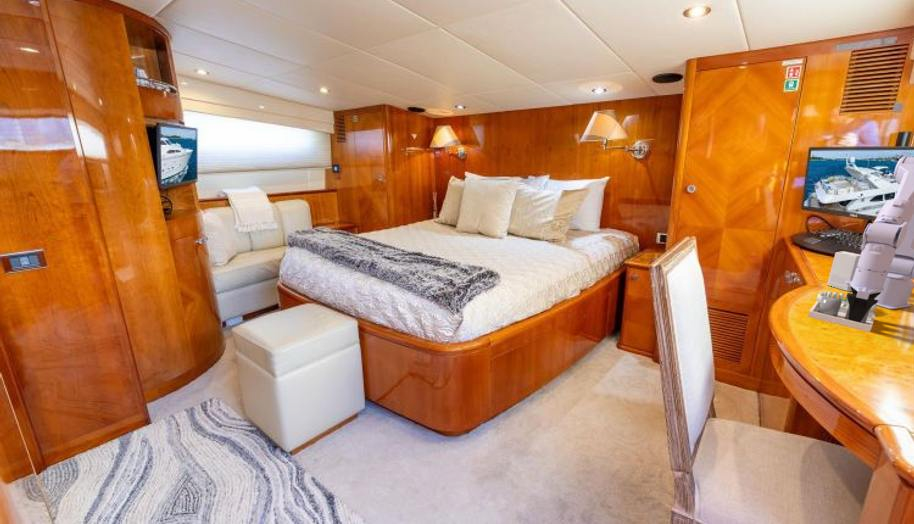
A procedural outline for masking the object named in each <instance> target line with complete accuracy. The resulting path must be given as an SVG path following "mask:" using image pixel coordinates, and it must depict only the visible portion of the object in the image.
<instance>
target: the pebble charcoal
mask: <svg viewBox="0 0 914 524" xmlns="http://www.w3.org/2000/svg"><path fill="white" fill-rule="evenodd" d="M870 309H871V308H870ZM870 309H869V310H868V312H867V313H866V315H865V316H864V318H863V319H862V321H861V322H860V323H863V324H865V323H866V320H867V317H868V315H869V312H870ZM845 319H847V320H849V307H848V310H847V313H846V316H845Z"/></svg>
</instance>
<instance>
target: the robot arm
mask: <svg viewBox="0 0 914 524" xmlns="http://www.w3.org/2000/svg"><path fill="white" fill-rule="evenodd" d="M893 178H894V180H895V182H896V183H897V184H898V188H897V190H896V193H895V195H894V198H893V199H891V200H888V201H886V202H885V203H884V204H883V206H882V208H881V209H880V210H879V213H878V214H877V215H876V218H875V219H874V221H873V223H871V222H870V223H868V224H867V226H866V228H865V229H864V232H863V234H862V243H861V246H860V250H861V253H860V254H859V255H860V258H859V261H858V264H857V268H856V271H855V274H854V277H853V280H852V281H846V282H845V284H846V285H850V286H851V290H852V291H851V292H847V293H846V295H847V299H848V302H849V320H851V321H855V322H859V323H860V322H861V321H862V319H863V318H864V316H865V315H866V313H867V312H868V310H869V309H870V308H871V307H872V306H873V305H875V304H876V305H877V307H882V308H885V309H888V310H895V309H902V308H903V309H904V308H908V307H911V306H912V304H909V300H910V298H911V295H912V292H913V289H914V280H913V279H914V156H907V155H905V156H902V157H900V158H899V160H898V161H897V163H896V165H895V168H894V171H893Z"/></svg>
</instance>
